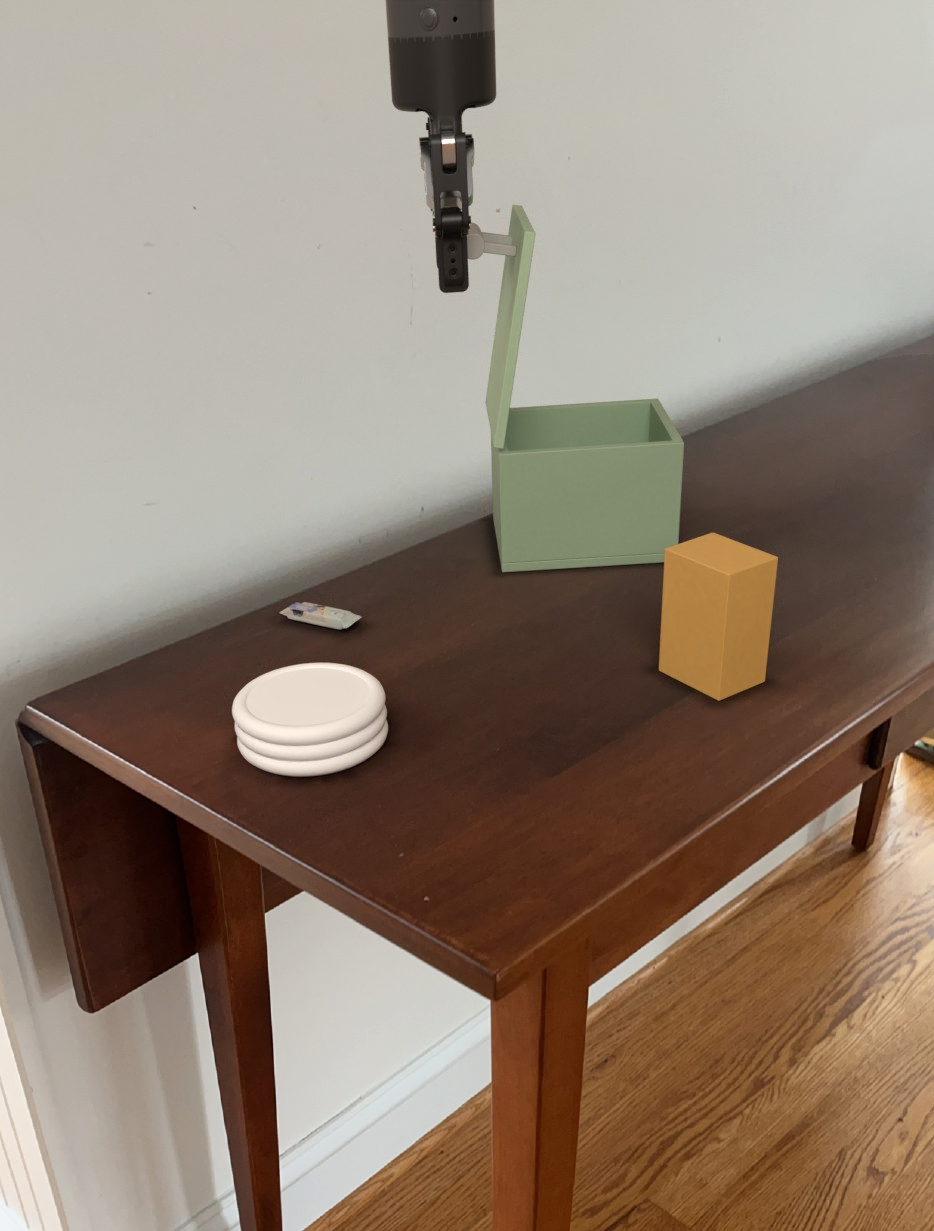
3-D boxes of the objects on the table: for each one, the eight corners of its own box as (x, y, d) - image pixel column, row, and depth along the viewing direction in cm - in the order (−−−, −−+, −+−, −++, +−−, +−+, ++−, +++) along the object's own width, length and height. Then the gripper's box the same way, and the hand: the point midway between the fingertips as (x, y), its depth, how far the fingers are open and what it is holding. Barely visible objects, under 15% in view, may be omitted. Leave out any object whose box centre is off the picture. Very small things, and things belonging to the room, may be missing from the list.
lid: (522, 205, 100) (459, 197, 100) (535, 232, 90) (466, 223, 90) (494, 404, 109) (436, 397, 109) (503, 449, 99) (440, 442, 99)
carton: (703, 652, 91) (712, 531, 86) (765, 681, 87) (778, 556, 82) (658, 670, 89) (664, 548, 84) (718, 701, 85) (729, 574, 80)
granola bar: (365, 612, 98) (339, 624, 96) (366, 626, 98) (340, 639, 96) (301, 591, 101) (274, 603, 99) (302, 605, 102) (276, 617, 100)
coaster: (313, 797, 78) (306, 747, 76) (207, 750, 84) (198, 703, 82) (419, 731, 84) (416, 684, 82) (314, 691, 90) (308, 646, 88)
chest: (653, 509, 115) (658, 398, 109) (677, 561, 105) (684, 442, 99) (493, 519, 115) (489, 409, 110) (502, 572, 105) (498, 454, 99)
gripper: (501, 28, 82) (506, 296, 92) (488, 20, 94) (495, 259, 103) (386, 36, 83) (404, 303, 92) (388, 27, 94) (403, 265, 104)
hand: (452, 280), depth 98 cm, fingers open, 8 cm apart
